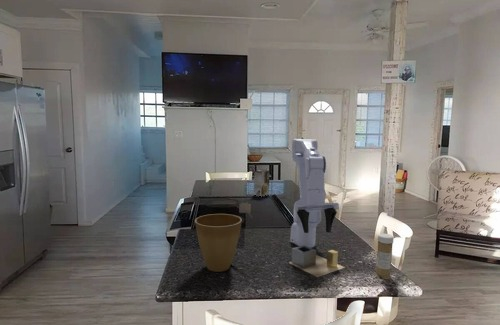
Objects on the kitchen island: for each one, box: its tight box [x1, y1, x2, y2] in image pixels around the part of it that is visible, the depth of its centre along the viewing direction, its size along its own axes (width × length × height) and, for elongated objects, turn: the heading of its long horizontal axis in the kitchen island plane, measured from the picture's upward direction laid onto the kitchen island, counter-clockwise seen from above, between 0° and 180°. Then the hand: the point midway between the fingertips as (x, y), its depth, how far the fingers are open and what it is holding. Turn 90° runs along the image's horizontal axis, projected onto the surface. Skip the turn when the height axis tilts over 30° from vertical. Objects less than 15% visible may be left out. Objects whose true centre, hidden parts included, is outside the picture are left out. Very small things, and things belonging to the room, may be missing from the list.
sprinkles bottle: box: [375, 233, 394, 280], centre depth 109 cm, size 5×5×13 cm
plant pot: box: [194, 213, 243, 273], centre depth 113 cm, size 15×15×16 cm
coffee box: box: [253, 169, 270, 198], centre depth 225 cm, size 9×6×16 cm
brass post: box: [326, 249, 339, 268], centre depth 114 cm, size 2×2×6 cm
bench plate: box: [288, 254, 346, 278], centre depth 115 cm, size 13×13×1 cm
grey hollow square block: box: [290, 245, 317, 269], centre depth 115 cm, size 6×6×5 cm
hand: (317, 232), depth 113 cm, fingers open, 7 cm apart
